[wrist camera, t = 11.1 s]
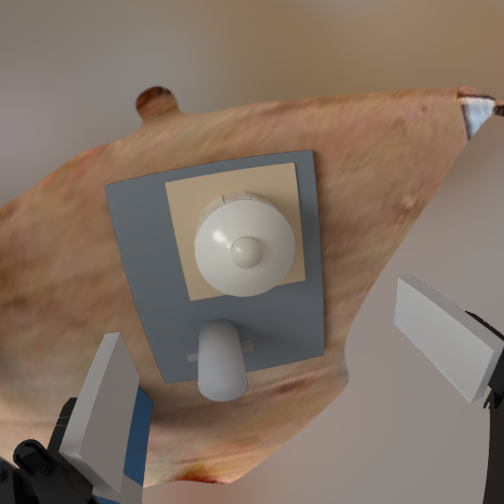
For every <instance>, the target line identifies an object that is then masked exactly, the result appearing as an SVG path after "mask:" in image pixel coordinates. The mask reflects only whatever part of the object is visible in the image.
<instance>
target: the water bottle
mask: <svg viewBox="0 0 504 504" xmlns="http://www.w3.org/2000/svg"><path fill="white" fill-rule="evenodd" d="M152 409H153V401H152V400H151V399H150V398H149V397H148V396H147V395H146V394H145V393H144V391H143V390H142V389H141V388H140V387H139V386H138V389H137V394H136V399H135V404H134V409H133V414H132V420H131V425H130V431H129V437H128V443H127V449H126V456H125V462H124V470H123V477H122V485H121V493H120V495H113V494H104V493H101V492H100V491H98V490H97V489H96V488H95V487H94V486H93V492H92V494H93V495H94V496H95V497H96V498H97V500H98V501H99V502H100V504H142V493H143V481H144V471H145V462H146V453H147V445H148V437H149V430H150V422H151V415H152Z"/></svg>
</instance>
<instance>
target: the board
mask: <svg viewBox="0 0 504 504" xmlns="http://www.w3.org/2000/svg"><path fill="white" fill-rule="evenodd" d="M104 187H105V192H106V197H107V202H108V206H109V211H110V215H111V219H112V224H113V228H114V232H115V236H116V240H117V244H118V248H119V251H120V255H121V259H122V262H123V266H124V269H125V273H126V276H127V279H128V283H129V286H130V289H131V292H132V296H133V299H134V302H135V305H136V308H137V311H138V314H139V317H140V319H141V322H142V325H143V328H144V331H145V333H146V336H147V339H148V342H149V344H150V347H151V349H152V352H153V355H154V357H155V360H156V362H157V365H158V367H159V369H160V372H161V374H162V377H163V379H164V381H165V383H172V382H181V381H189V380H197V379H198V388H199V391H200V392H201V394H202V395H203V396H205V397H206V398H208V399H210V400H213V401H219V402H225V401H231V400H234V399H236V398H238V397H240V396H241V395H242V394H243V393H244V392H245V391H246V389H247V386H248V381H247V376H246V372H248V371H253V370H258V369H264V368H269V367H273V366H278V365H283V364H287V363H292V362H296V361H300V360H305V359H309V358H313V357H317V356H321V355H324V308H323V279H322V258H321V242H320V227H319V214H318V202H317V191H316V180H315V171H314V161H313V153H312V150H306V151H295V152H286V153H277V154H269V155H261V156H253V157H246V158H239V159H232V160H226V161H219V162H213V163H207V164H202V165H196V166H190V167H185V168H180V169H175V170H170V171H165V172H160V173H155V174H151V175H146V176H142V177H137V178H133V179H129V180H125V181H121V182H117V183H113V184H109V185H106V186H104ZM242 191H245V192H249V193H252V194H254V195H257V196H259V197H262V198H264V199H266V200H268V201H269V202H270V203H271V204H273V205H274V206H275V207H276V208H277V209H278V211H279V212H280V213H281V214H282V215H283V216H284V217H285V219H286V220H287V221H288V223H289V224H290V226H291V229H292V231H293V234H294V238H295V256H294V260H293V263H292V265H291V268H290V269H289V271H288V273H287V274H286V276H285V277H284V278H283V279H282V280H281V282H279V283H278V284H277V285H276V286H275V287H273V288H272V289H270V290H268V291H266V292H264V293H261V294H259V295H255V296H248V297H238V296H232V295H228V294H225V293H223V292H221V291H219V290H217V289H216V288H214V287H213V286H211V285H210V284H209V283H208V282H207V281H206V280H205V278H204V277H203V276H202V274H201V272H200V270H199V268H198V266H197V262H196V258H195V247H194V240H195V234H196V229H197V226H198V224H199V221H200V218H201V216H202V213H203V210H204V209H205V208H206V207H207V206H209V205H210V204H211V203H212V202H214V201H215V200H216V199H217V198H218V197H220V196H222V197H223V194H229V193H235V192H242Z"/></svg>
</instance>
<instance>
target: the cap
mask: <svg viewBox="0 0 504 504" xmlns="http://www.w3.org/2000/svg"><path fill="white" fill-rule="evenodd" d="M194 247H195V258H196V262H197V266H198V268H199V270H200V272H201V274H202V276H203V277H204V278H205V280H206V281H207V282H208V283H209V284H210V285H211V286H213V287H214V288H216V289H217V290H219V291H221V292H223V293H225V294H228V295H232V296H238V297H248V296H255V295H259V294H261V293H264V292H266V291H268V290H270V289H272V288H273V287H275V286H276V285H277V284H278V283H279V282H281V280H282V279H283V278H284V277H285V276H286V274H287V273H288V271H289V269H290V268H291V265H292V263H293V260H294V256H295V238H294V234H293V231H292V229H291V226H290V224H289V223H288V221H287V220H286V219H285V217H284V216H283V215H282V214H281V213H280V212H279V211H278V209H277V208H276V207H275V206H274V205H273V204H271V203H270V202H269V201H268V200H266V199H264V198H262V197H259V196H257V195H254V194H252V193H249V192H245V191H242V192H235V193H229V194H223V197H222V196H220V197H218V198H217V199H216V200H215V201H214V202H212V203H211V204H210V205H209V206H207V207H206V208H205V209H204V210H203V213H202V216H201V218H200V221H199V224H198V226H197V229H196V234H195V240H194Z"/></svg>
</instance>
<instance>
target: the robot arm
mask: <svg viewBox="0 0 504 504" xmlns="http://www.w3.org/2000/svg"><path fill="white" fill-rule="evenodd" d="M394 325H395V326H396V327H397V328H399V330H400V331H401V332H402V333H403V334H404V335H405V336H406V337H408V339H409V340H410V341H411V342H412V343H413V344H414V345H415V346H416V347H417V348H418V349H419V350H420V351H421V352H422V353H423V354H424V355H425V356H426V357H427V358H428V359H429V360H430V361H431V362H432V363H433V364H434V365H435V366H436V367H437V368H438V369H439V371H441V372H442V374H443V375H444V376H445V377H446V378H447V379H448V380H449V381H450V382H451V383H452V384H453V385H454V386H455V387H456V388H457V390H458V391H459V392H460V393H461V394H462V395H463V396H464V397H465V398H466V399H467V400H468V402H469V403H470V404H471V403H473V402H474V401H476V400H477V399H479V398H480V397H482V396H483V394H484V392H485V390H486V388H487V386H489V387H490V388H491V391H490V394H489V396H488V398H487V399H486V401H485V403H484V406H483V408H486V406H487V404H488V402H490V406H489V409H490V441H489V458H488V469H487V479H486V486H485V493H484V499H483V504H504V336H503V335H502V334H501V333H500V332H498V331H497V330H496V329H494V328H493V327H492V326H490V325H489V324H488V323H487V322H484V321H483V320H482V319H481V318H480V317H478V316H477V315H475V314H473V313H470V312H467V311H463V310H462V309H460V308H459V307H458V306H456V305H455V304H453V303H452V302H451V301H449V300H448V299H446V298H445V297H444V296H442V295H441V294H439V293H438V292H437V291H435V290H434V289H432V288H431V287H429V286H428V285H426V284H425V283H423V282H422V281H421V280H419V279H417V278H416V277H415V276H413V275H412V274H407V275H403V276H399V277H398V287H397V298H396V308H395V317H394ZM139 380H140V377H139V375H138V372H137V370H136V368H135V366H134V364H133V361H132V359H131V357H130V355H129V352H128V350H127V348H126V345H125V343H124V340H123V338H122V336H121V333H120V332H116V333H107V334H105V335H104V338H103V340H102V342H101V344H100V346H99V349H98V351H97V353H96V355H95V358H94V360H93V362H92V365H91V367H90V369H89V372H88V374H87V376H86V379H85V381H84V384H83V386H82V389H81V391H80V394H79V396H78V398H70V399H69V400H68V401H67V403H66V404H65V405H64V406H63V408H62V410H61V413H60V415H59V417H60V418H58V421H57V423H56V426H55V428H54V431H53V434H52V436H51V439H50V442H49V445H48V447H47V450H46V449H45V448H44V447H43V445H42V444H41V443H40V442H38V441H37V440H34V439H28V440H25V441H23V442H21V443H20V444H19V445H18V446H17V447H16V449H15V450H14V454H13V462H14V463H15V464H16V465H17V466H18V467H19V468H18V469H14V468H13V467H12V466H11V465H10V464H9V463H8V462H5V461H0V504H100V502H99V501H98V500H97V498H96V497H95V496H94V495H93V494H92V492H93V486H94V487H95V488H96V489H97V490H98V491H100V492H101V493H104V494H113V495H120V493H121V485H122V477H123V470H124V462H125V456H126V449H127V443H128V437H129V431H130V425H131V420H132V414H133V409H134V404H135V399H136V394H137V389H138V384H139Z"/></svg>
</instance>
